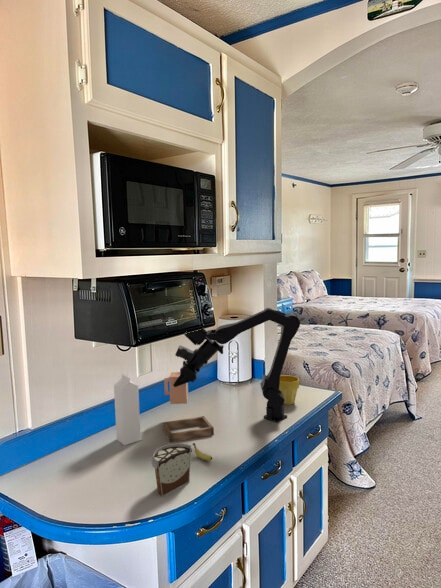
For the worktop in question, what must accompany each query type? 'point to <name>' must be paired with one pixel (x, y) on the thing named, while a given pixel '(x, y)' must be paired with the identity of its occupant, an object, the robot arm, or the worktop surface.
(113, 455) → the worktop surface
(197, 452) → the banana
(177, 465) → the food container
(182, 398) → the peach box with tab
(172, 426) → the frame
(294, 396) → the plant pot
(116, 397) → the milk
